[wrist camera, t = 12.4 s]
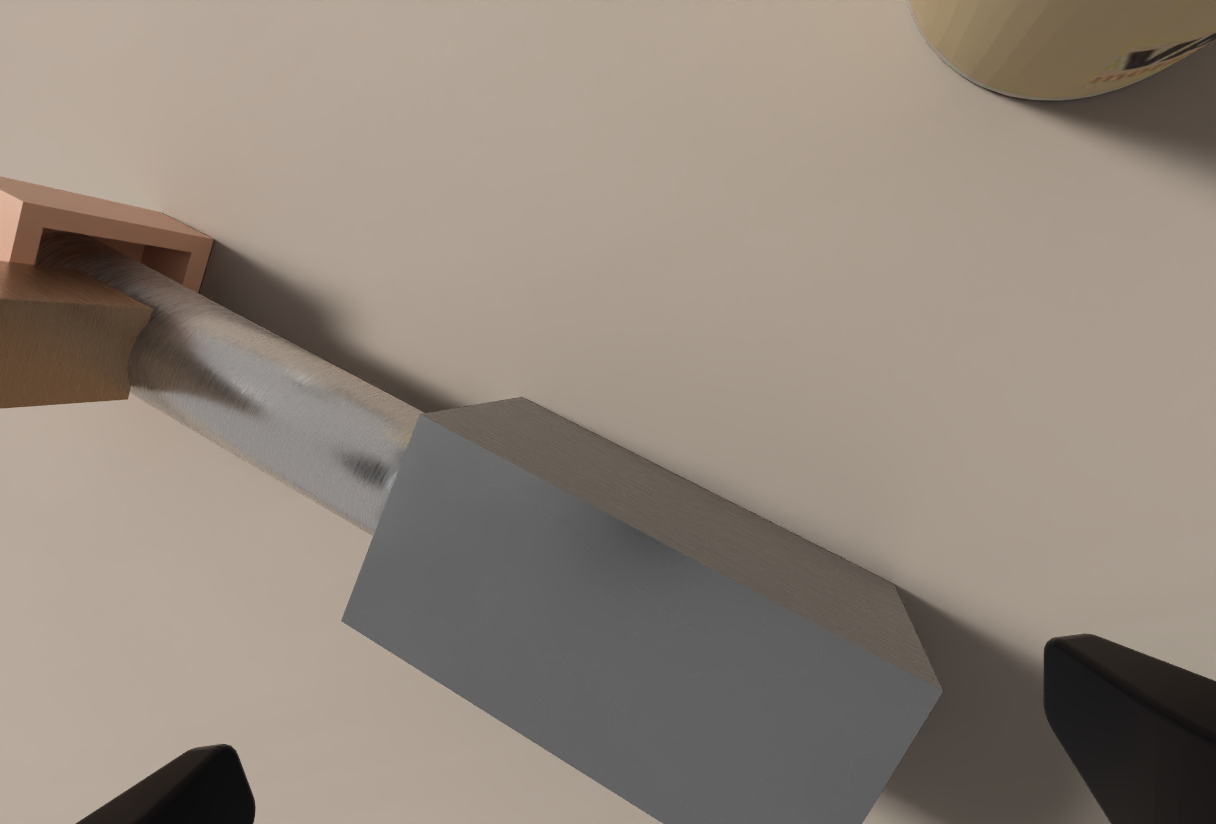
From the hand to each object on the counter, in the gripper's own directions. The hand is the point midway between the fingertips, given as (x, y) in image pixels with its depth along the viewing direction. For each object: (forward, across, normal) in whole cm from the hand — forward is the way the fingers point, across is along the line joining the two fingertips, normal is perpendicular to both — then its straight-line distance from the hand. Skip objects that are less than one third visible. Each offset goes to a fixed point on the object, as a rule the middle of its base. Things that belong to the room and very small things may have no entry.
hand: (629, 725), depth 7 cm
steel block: (+12, 0, +4) cm, 12 cm away
